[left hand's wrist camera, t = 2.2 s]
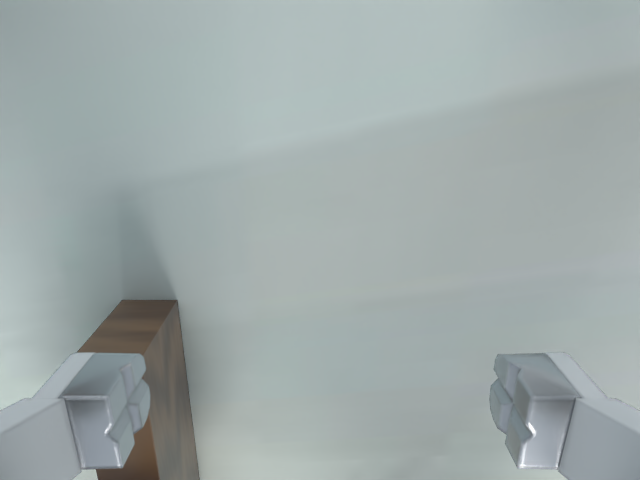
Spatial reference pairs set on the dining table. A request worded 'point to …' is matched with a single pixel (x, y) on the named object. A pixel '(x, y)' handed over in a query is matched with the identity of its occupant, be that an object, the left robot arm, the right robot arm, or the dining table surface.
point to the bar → (153, 389)
